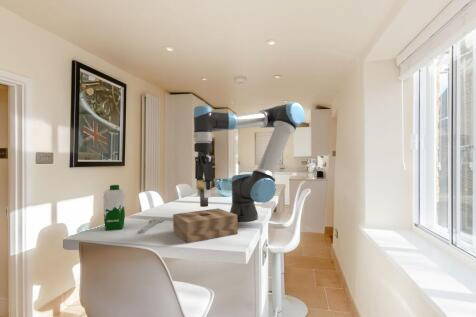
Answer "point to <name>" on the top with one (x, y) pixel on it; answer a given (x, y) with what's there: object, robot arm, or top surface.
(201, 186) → the pin
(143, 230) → the adjustable wrench
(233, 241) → the top surface
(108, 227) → the milk carton
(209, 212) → the block
